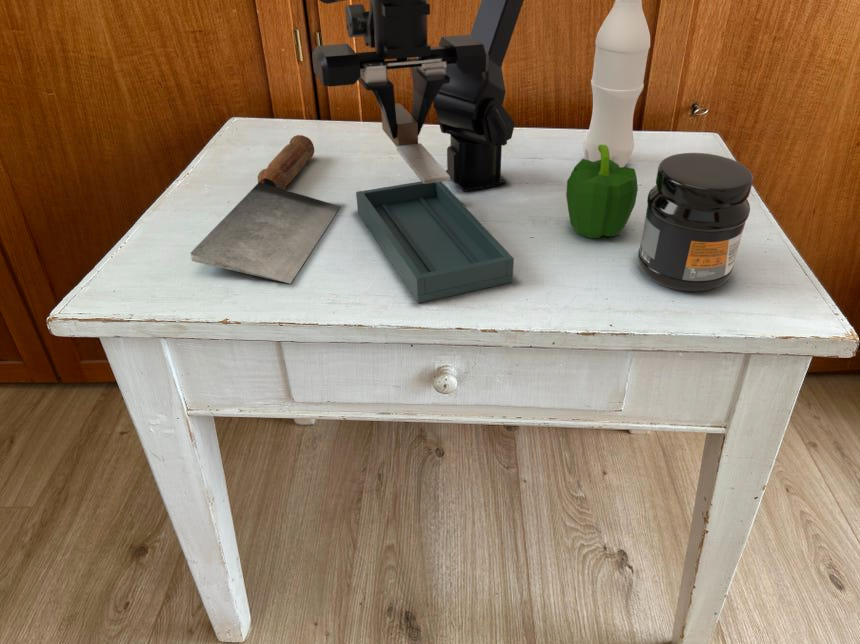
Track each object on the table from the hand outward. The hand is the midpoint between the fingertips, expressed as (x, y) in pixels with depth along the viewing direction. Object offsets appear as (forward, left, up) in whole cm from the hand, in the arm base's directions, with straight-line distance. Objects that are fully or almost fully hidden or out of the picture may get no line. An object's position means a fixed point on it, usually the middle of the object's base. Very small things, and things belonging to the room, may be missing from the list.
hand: (404, 135), depth 83 cm
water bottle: (-32, -4, -10) cm, 34 cm away
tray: (0, +9, -10) cm, 13 cm away
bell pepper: (-20, +13, -10) cm, 26 cm away
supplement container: (-24, +25, -10) cm, 36 cm away
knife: (0, +3, -1) cm, 3 cm away
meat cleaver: (+13, -6, -10) cm, 18 cm away
